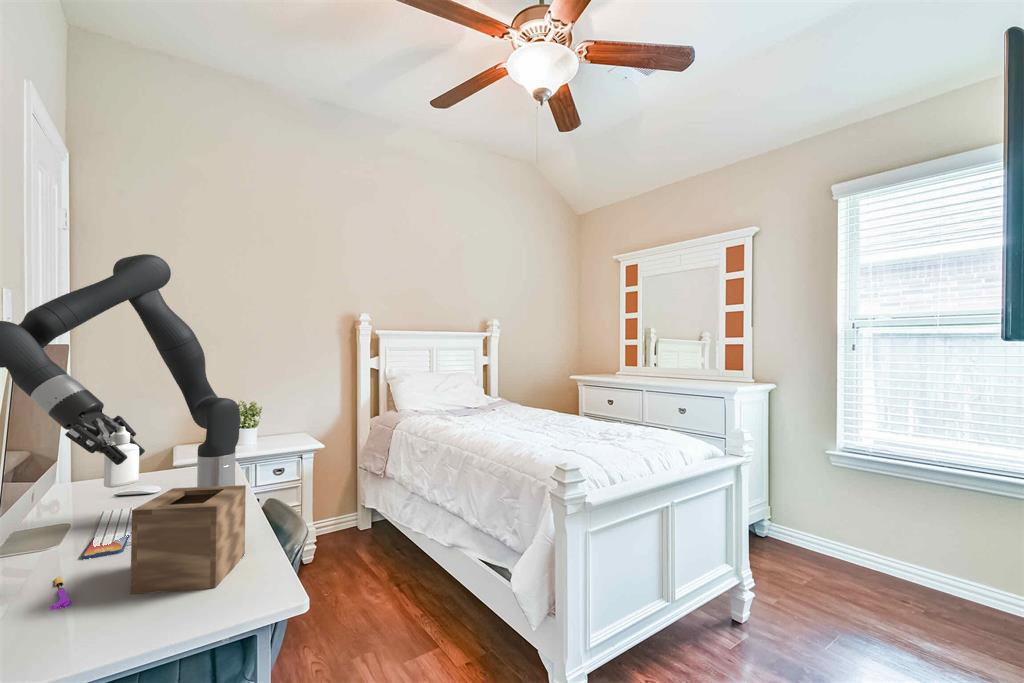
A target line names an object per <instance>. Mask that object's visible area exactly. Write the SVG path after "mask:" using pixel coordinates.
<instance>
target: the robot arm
mask: <svg viewBox="0 0 1024 683" xmlns="http://www.w3.org/2000/svg"><path fill="white" fill-rule="evenodd" d="M112 274H113V275H110V276H109V277H107V278H104V279H102V280H100V281H97V282H95V283H93V284H88V285H87V286H84V287H82V288H79V289H76V290H72V291H70V292H67V293H66V294H65V293H64V294H63V295H61V296H58V297H55V298H53V299H51V300H50V301H47V302H44V303H42V304H41V305H39V306H36V307H35V308H33V309H31V310H29V311H28V312H26V314H25V316H24V318H23V320H22V321H21V322H20V323H19V324H17V323H14V322H11V321H6V320H0V368H2V369H3V368H5V369H6V370H7V371H8V373H9V374H10V378H11V379H12V381H13V383H14V384H15V385H16V386H17V387H18V388H19V389H21V391H23V392H24V393H25V394H26V395H27V396H28V397H30V398H31V399H32V400H33V401H34V403H35V404H36V406H38V407H39V408H40V409H41V410H42V411H43V412H44V413H46V414H47V415H48V416H49V417H50V418H51V419H52V420H54V421H55V422H56V423H57V424H58V425H59V426H61V427H62V428H63V429H64V430H66V431H67V432H66V433H65V434H64V436H66V437H67V438H68V439H69V440H71V441H72V442H74V443H75V444H77V445H78V446H79V447H81V448H82V449H83V450H86V451H87V452H88V453H90V454H94V453H95V452H97V453H98V454H103V455H104V456H105V455H106V456H107V457H108V458H109V459H110V460H111V461H113V462H114V463H115V464H116V465H119V464H122V463H123V462H124V461H125V460H126V459H127V455H125V454H124V453H123V452H122V451H121V450H120V449H119V448H117V447H116V446H115V444H113V442H114V443H115V434H116V433H118V432H119V431H120V428H121V427H123V426H125V429H126V431H127V432H129V433H130V442H129V443H130V444H135V445H137V446H138V447H139V458H140V457H141V456H142V455H143V454H145V452H146V450H145V449H144V448H143V447H142V446H141V445H139V443H137V442H136V441H135V440H134V437H135V436H136V435H137V433H136V432H135V430H134V429H133V428H132V427H131V426H130V425H129V424H128V423H127V421H126V420H124V418H123V417H122V416H120V415H116V416H115V417H114V418H111V417H110V416H108V415H107V414H105V413H103V409H104V407H105V404H104V403H103V402H102V401H101V400H100V399H99V398H98V397H97V396H96V395H94V394H93V393H92V392H91V391H90V390H89V389H87V387H85V386H84V385H83V383H81V382H80V381H78V380H77V379H75V377H73V376H71V375H69V374H68V373H67V372H66V371H65V370H64V369H63V368H62V367H60V366H59V364H57V363H56V362H55V361H53V360H52V359H51V358H50V357H49V356H48V354H47V353H46V352H45V350H44V348H45V347H47V346H48V345H49V344H50V343H51V342H53V341H55V339H56V338H58V337H60V336H62V335H64V334H66V333H68V332H70V331H71V330H73V329H76V328H78V327H79V326H80V325H83V324H85V323H86V322H88V321H90V320H92V319H94V318H95V317H97V316H99V315H101V314H103V313H104V312H106V311H108V310H110V309H112V308H114V307H116V306H118V305H120V304H122V303H125V302H126V301H128V302H129V303H130V305H131V306H132V307H133V310H135V312H136V313H137V315H138V316H139V318H140V320H141V321H142V324H143V325H144V327H145V329H146V331H147V332H148V335H149V337H150V338H151V340H152V341H153V344H154V345H155V348H156V350H157V351H158V353H159V355H160V358H162V360H163V362H164V364H165V366H166V367H167V369H168V370H169V372H170V374H171V376H172V378H173V379H174V381H175V383H176V385H177V386H178V387H179V390H180V391H181V393H182V396H183V398H184V401H185V403H186V406H187V408H188V410H189V413H190V415H191V418H192V420H193V421H194V423H195V424H196V425H197V426H198V427H200V428H202V429H205V430H206V433H205V440H204V441H203V443H202V442H201V444H199V445H198V447H197V459H196V460H197V461H196V462H197V463H196V464H197V466H196V468H197V472H196V473H197V475H196V480H197V481H196V487H215V486H236V447H237V445H238V443H239V440H240V428H241V427H240V425H241V412H240V411H241V410H240V407H239V405H238V403H237V402H236V401H234V400H233V399H232V398H227V397H218V395H217V394H216V393H215V391H214V389H213V388H212V386H211V384H210V382H209V380H208V377H207V371H206V367H207V366H206V356H205V352H204V350H203V347H202V345H201V343H200V341H199V340H198V338H197V336H196V334H195V332H194V331H193V329H192V328H191V327H190V326H189V325H188V323H187V322H185V321H184V320H183V319H182V318H181V317H180V316H179V315H178V314H176V312H174V311H173V310H172V309H171V308H170V306H169V305H168V304H167V303H166V301H165V299H164V298H163V296H162V293H161V291H160V290H159V289H162V288H164V287H165V286H167V284H168V283H169V281H170V279H171V276H172V275H171V274H172V271H171V268H170V266H169V263H167V261H165V259H163V258H162V257H160V256H158V255H155V254H147V253H146V254H145V253H143V254H136V255H131V256H126V257H122V258H120V259H118V260H116V262H115V263H114V265H113V269H112Z"/></svg>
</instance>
